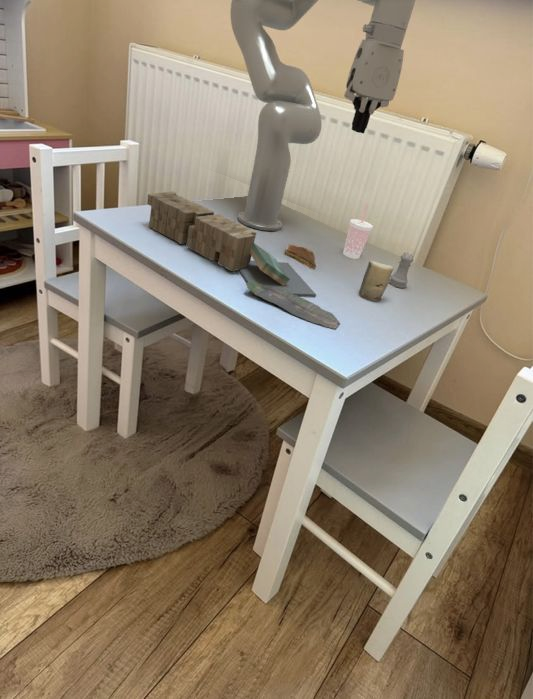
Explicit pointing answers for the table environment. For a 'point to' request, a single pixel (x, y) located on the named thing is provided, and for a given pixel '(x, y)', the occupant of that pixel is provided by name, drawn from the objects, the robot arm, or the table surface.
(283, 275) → the plaque
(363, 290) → the beige rounded chunk
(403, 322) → the table surface
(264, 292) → the mossy stone slab
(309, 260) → the shard
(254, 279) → the mat
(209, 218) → the block tower
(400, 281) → the rook chess piece
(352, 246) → the beverage cup
